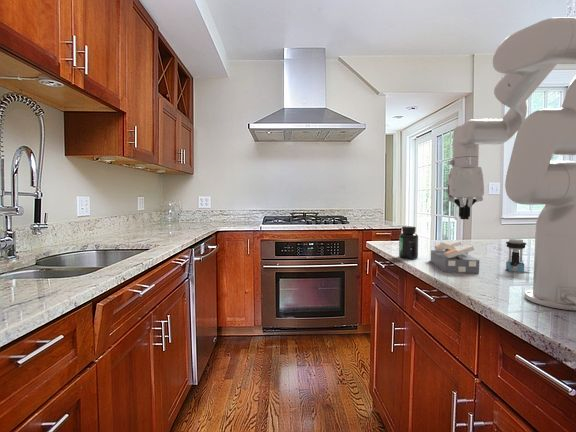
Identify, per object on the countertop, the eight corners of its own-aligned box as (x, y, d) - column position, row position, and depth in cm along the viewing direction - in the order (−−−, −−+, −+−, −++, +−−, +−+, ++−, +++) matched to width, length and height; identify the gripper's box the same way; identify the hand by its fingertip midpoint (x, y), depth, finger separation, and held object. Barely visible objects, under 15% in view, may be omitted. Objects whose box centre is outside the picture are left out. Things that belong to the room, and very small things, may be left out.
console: (479, 273, 103) (479, 256, 103) (444, 272, 105) (445, 255, 105) (459, 261, 121) (460, 247, 121) (430, 260, 123) (431, 246, 123)
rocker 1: (461, 244, 116) (460, 241, 116) (438, 251, 118) (437, 247, 118) (458, 243, 120) (456, 239, 120) (435, 249, 122) (434, 245, 122)
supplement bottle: (399, 259, 127) (399, 227, 126) (398, 255, 133) (399, 225, 133) (418, 259, 125) (419, 227, 124) (417, 256, 131) (417, 226, 131)
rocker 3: (474, 250, 104) (472, 245, 104) (448, 258, 106) (446, 254, 106) (469, 247, 108) (468, 243, 108) (444, 256, 110) (443, 252, 110)
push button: (529, 270, 107) (530, 239, 106) (531, 274, 102) (532, 241, 102) (504, 268, 110) (505, 238, 110) (505, 271, 106) (506, 240, 105)
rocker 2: (467, 254, 110) (468, 250, 110) (442, 247, 112) (443, 243, 111) (463, 252, 114) (464, 248, 114) (439, 245, 116) (440, 241, 115)
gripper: (444, 163, 108) (443, 219, 109) (495, 161, 106) (493, 219, 106) (438, 165, 116) (437, 218, 116) (485, 164, 113) (484, 218, 114)
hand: (464, 219), depth 111 cm, fingers closed
